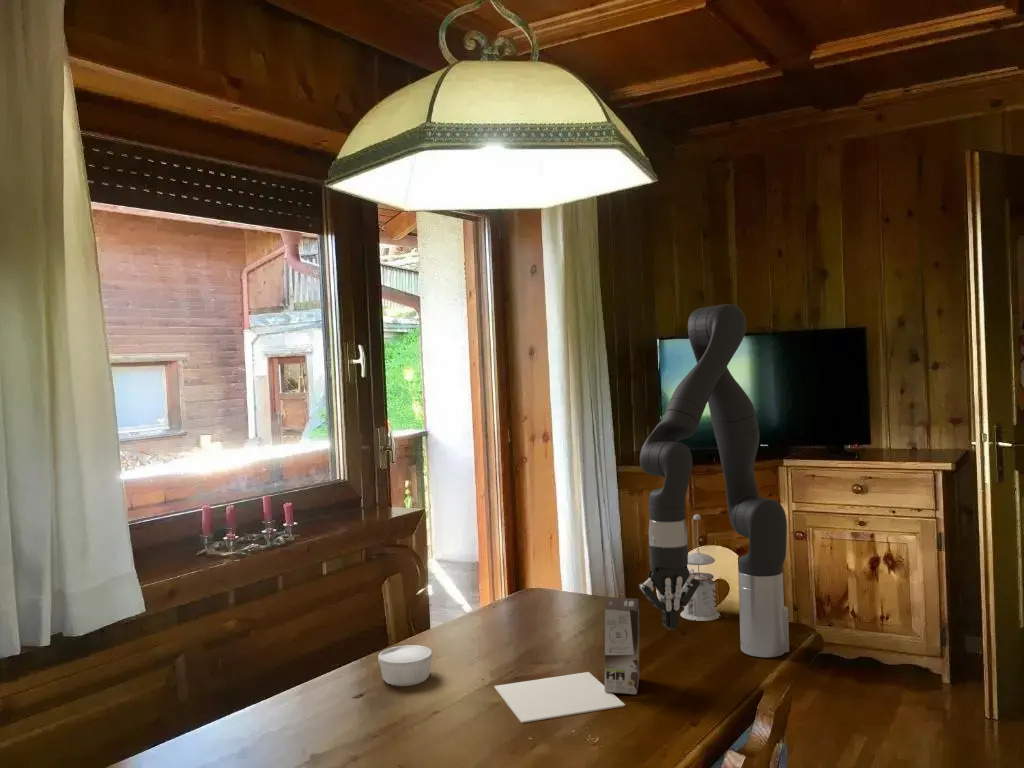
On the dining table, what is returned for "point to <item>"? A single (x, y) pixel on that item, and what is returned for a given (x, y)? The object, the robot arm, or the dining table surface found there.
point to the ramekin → (405, 664)
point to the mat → (557, 697)
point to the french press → (701, 589)
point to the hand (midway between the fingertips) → (670, 628)
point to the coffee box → (622, 645)
